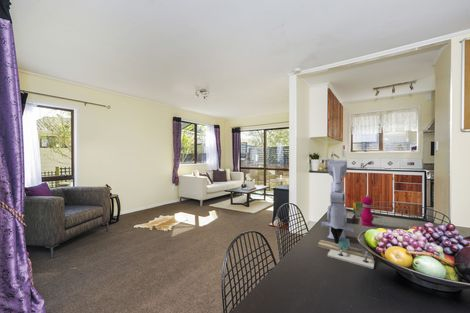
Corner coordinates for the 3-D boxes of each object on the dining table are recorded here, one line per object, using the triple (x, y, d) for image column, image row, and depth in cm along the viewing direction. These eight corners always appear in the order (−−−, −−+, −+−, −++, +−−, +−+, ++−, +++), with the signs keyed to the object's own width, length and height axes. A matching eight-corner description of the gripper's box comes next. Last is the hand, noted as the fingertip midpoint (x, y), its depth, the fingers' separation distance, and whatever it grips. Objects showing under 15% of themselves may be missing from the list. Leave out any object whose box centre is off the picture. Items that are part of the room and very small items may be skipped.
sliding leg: (340, 245, 109) (340, 237, 108) (349, 247, 106) (349, 239, 106) (336, 253, 100) (336, 244, 100) (345, 255, 98) (346, 247, 98)
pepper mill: (358, 223, 144) (358, 194, 144) (365, 222, 147) (365, 193, 147) (368, 227, 138) (369, 196, 137) (375, 225, 141) (376, 195, 140)
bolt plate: (330, 250, 105) (330, 249, 105) (374, 262, 95) (374, 260, 95) (327, 256, 100) (327, 254, 100) (373, 269, 89) (373, 267, 89)
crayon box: (361, 214, 165) (361, 199, 164) (364, 215, 162) (364, 200, 162) (352, 215, 164) (353, 200, 163) (355, 216, 161) (355, 201, 160)
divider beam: (320, 242, 115) (320, 233, 115) (374, 255, 101) (374, 244, 100) (314, 250, 106) (314, 240, 106) (372, 265, 92) (372, 254, 92)
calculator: (355, 213, 157) (352, 217, 144) (355, 219, 157) (352, 224, 144) (339, 211, 163) (335, 214, 151) (339, 216, 163) (335, 221, 151)
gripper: (319, 215, 108) (319, 242, 108) (352, 221, 99) (352, 250, 100) (323, 212, 114) (323, 237, 114) (354, 217, 105) (354, 244, 105)
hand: (336, 243), depth 107 cm, fingers closed
